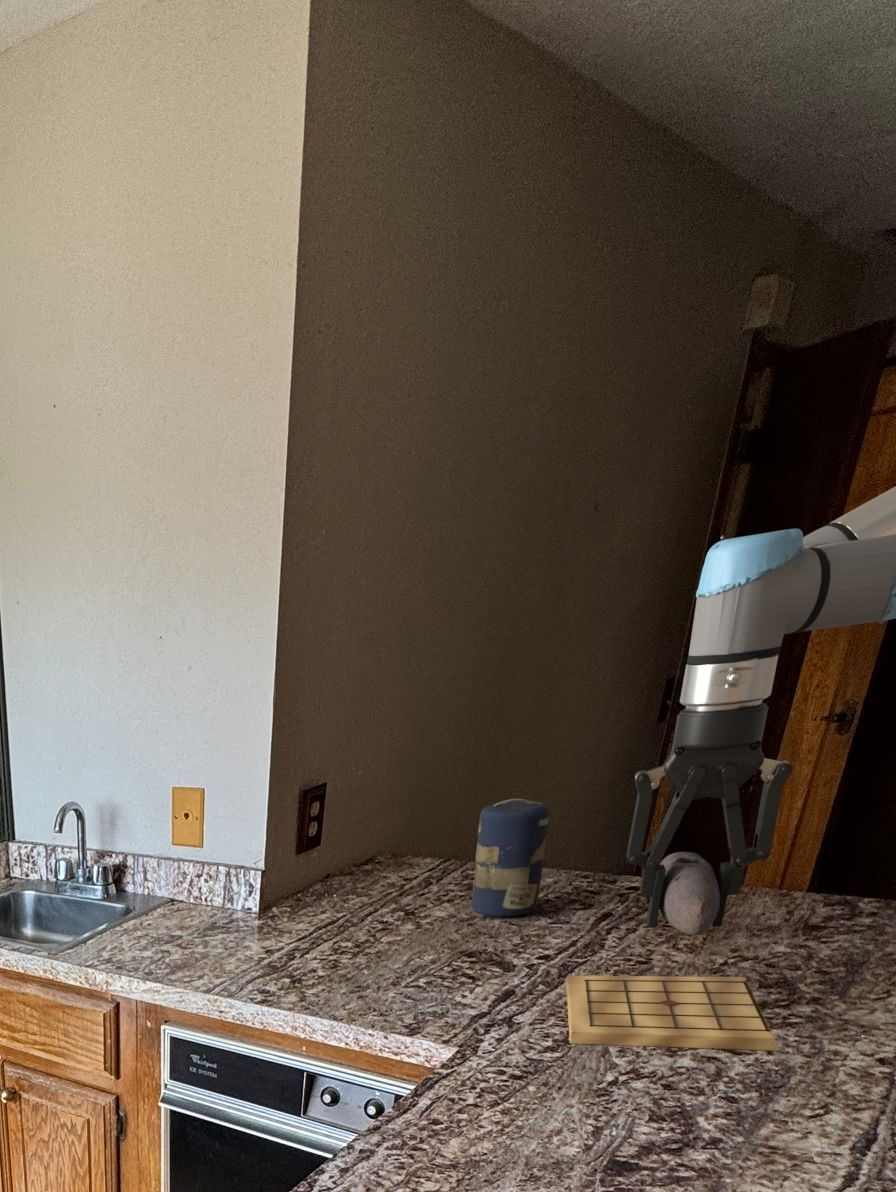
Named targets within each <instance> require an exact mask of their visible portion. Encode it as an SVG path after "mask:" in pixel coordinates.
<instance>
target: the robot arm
mask: <svg viewBox="0 0 896 1192" xmlns="http://www.w3.org/2000/svg"><path fill="white" fill-rule="evenodd" d="M697 587H698V588H697V590H696V592H695V593H696V594H695V597H696V601H695V608H694V617H693V621H692V622H693V623H692V630H691V637H690V645H689V650H688V655H687V659H686V664H685V669H684V675H683V682H682V686H681V693H680V698H679V703H680V704H681V705H682V706H685V707H684V708H683V709H681V710H680V712H678V713H677V717H676V722H675V727H674V728H675V729H674V734H673V741H672V745H671V746H672V747H671V750H670V753H669V755H668V757H667V758H666V759H665V761H664V762H663V765H660V766H656V767H653V768H650V769H648V770H644V769H641V770H638V771H636V772H635V774H634V782H635V785H636V790H637V795H636V801H635V807H634V811H633V817H632V822H631V827H630V831H629V839H628V844H627V849H626V854H625V855H626V860H627V862H628V864H630V865H636V866H639V867H641V868H642V876H641V881H640V887H639V891H640V895H641V897H642V898H649V901H648V902H649V903H648V908H647V914H646V919H645V921H646V926H647V928H657V925H658V918H659V914H660V913H659V907H660V902H661V896H662V890H663V884H664V879H665V873H666V869H665V867H664V865H659V864H660V863H661V862H662V860H663V858H664V856H665V854H666V852H667V850H668V847H669V845H670V844H671V841H673V837H674V836H675V833H676V832H677V829H678V827H679V825H680V823H681V821H682V819H683V818H684V816H685V813H686V812H687V810H688V808H690V806H691V803H692V801H693V800H701V799H704V798H714V799H720V800H721V803H722V809H723V816H724V823H725V824H724V825H725V830H726V838H727V845H728V851H729V858H730V860H729V861H725V862H720V865H719V869H718V875H717V876H718V877H717V882H718V887H719V892H720V903H719V910H718V913H717V916H716V918H715V920H714V922H713V923H712V925H711V927H712V928H718V927H719V928H721V927H722V925H723V920H724V916H725V910H726V905H727V900H728V896H738V895H739V893H740V892H741V890H742V885H743V879H744V876H745V871H746V868H747V866H748V865H749V864H751V863H754V862H756V861H765V860H767V859H768V858H769V857H770V855H771V852H772V845H773V840H774V835H775V829H776V824H777V818H778V814H779V813H778V812H779V808H780V801H781V797H782V791H783V787H784V785H785V784H786V782H787V781H788V779H789V778H790V776H791V774H792V772H793V770H794V765H792V763H790V762H789V761H788V760H785V759H781V760H776V759H770V758H766V757H765V755H764V753H763V751H762V741H763V736H764V731H765V725H766V722H767V721H766V720H767V718H768V717H767V715H768V712H769V711H768V710H769V706H768V705H767V703H765V702H763V700H765V699H767V698H769V697H770V696H771V695H772V691H773V685H774V681H775V680H774V679H775V676H776V671H777V670H776V669H777V664H778V661H779V660H778V659H779V654H780V653H781V648H782V643H783V639H784V636H785V635H791V634H799V633H801V632H808V631H818V630H825V629H834V628H841V627H847V626H856V625H862V624H870V623H871V624H872V623H877V624H883V623H884V622H886V621H889V620H895V619H896V485H895V486H894V487H892V488H889V489H888V490H887V491H885V492H883V493H881V494H879V495H878V496H875V497H874V498H872V499H870V500H868V501H866V502H865V503H863V504H861V505H860V506H858V507H856V508H854V509H853V510H850V511H848V512H847V513H845V514H843V515H841V516H840V517H838V518H836V519H835V520H832V521H830V522H829V523H828V524H825V525H824V526H822V527H820V528H818V529H816V530H814V531H812V532H810V533H809V534H806V535H805V536H804V533H803V531H802V530H801V529H800V528H790V529H789V528H788V529H782V530H776V531H769V532H763V533H757V534H750V535H744V536H737V537H731V538H726V539H721V540H719V541H718V542H716V543H714V544H713V545H711V547H710V548H709V550H708V552H707V554H706V556H705V560H704V563H703V566H702V569H701V573H700V578H699V583H698V586H697ZM758 770H760V771H761V774H760V778H761V780H762V781H763V782H764V783H763V787H762V792H761V796H760V803H759V809H758V812H757V813H758V814H757V820H756V825H755V831H754V836H753V844H752V847H749V848H747V846H746V844H747V843H746V837H745V830H744V822H743V817H742V816H743V815H742V807H741V797H740V789H739V788H741V787H742V786H743V785H744V784H745V782H747V781H748V780H749V779H750V778H751V777H752V776H753V775H754V774H755V773H756V772H757V771H758ZM665 776H666V777H667V778H668V780H669V781H670V782H671V783H672V785H673V786H674V788H675V789H676V791H675V793H674V796H673V797H672V800H671V802H670V805H669V807H668V809H667V812H666V814H665V816H664V818H663V819H662V822H661V823H660V826H659V828H658V829H657V832H656V834H655V836H654V838H653V841H652V842H651V844H650V847H649V849H648V850H647V852H643V849H644V843H645V838H646V833H647V829H648V823H649V818H650V812H651V809H652V802H653V790H656V789H658V788H659V787H660V784H661V781H662V780H661V779H663V778H664V777H665Z"/></svg>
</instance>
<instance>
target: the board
mask: <svg viewBox="0 0 896 1192" xmlns="http://www.w3.org/2000/svg"><path fill="white" fill-rule="evenodd" d="M566 977H567V978H566V985H565V989H566V1003H567V1004H566V1005H567V1007H566V1008H567V1021H568V1022H567V1023H568V1036H569V1044H576V1045H601V1046H602V1045H603V1046H604V1045H605V1046H606V1045H607V1046H628V1047H629V1046H631V1047H632V1046H634V1047H636V1046H637V1047H657V1048H658V1047H659V1048H687V1049H688V1048H689V1049H692V1048H693V1049H712V1048H713V1050H714V1049H715V1050H716V1049H718V1050H742V1051H743V1050H744V1051H767V1052H768V1051H770V1052H782V1051H781V1048H780V1046H779V1044H778V1042H777V1040H776V1038H775V1036H774V1034H773V1031H772V1030H771V1028H770V1025H769V1024H768V1022H767V1019H766V1017H765V1016H764V1015H765V1014H764V1013H763V1011H762V1009H761V1007H760V1004H759V1003H758V1001H757V999H756V997H755V995H754V993H753V991H752V989H751V987H750V985H749V983H748V980H747V979H746V977H745V976H675V975H674V976H672V975H671V976H667V975H665V976H663V975H662V976H661V975H660V976H659V975H658V976H657V975H656V976H655V975H648V976H647V975H567V976H566Z"/></svg>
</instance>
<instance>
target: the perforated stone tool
mask: <svg viewBox="0 0 896 1192" xmlns="http://www.w3.org/2000/svg"><path fill="white" fill-rule="evenodd" d="M659 865H664V867H665V869H666V873H665V879H664V884H663V890H662V896H661V902H660V907H659V913H658V914H659V915H660V916H661V917H662V918H663V919H664V920H665V921H666V922H667V923H668V924H669V925H671V926H672V927H673V928H674V929H676V930H678V931H679V932H681V933H683V934H685V935H689V936H697V935H699V936H700V935H702V934H703V933H705V932H706V931H708V930H709V929H710V928H711V927H712V923H713V922H714V920H715V918H716V916H717V913H718V910H719V903H720V892H719V887H718V882H717V880H718V878H717V876H716V873H715V871H714V869H713V867H712V865H711V864H710V863H709V862H708V860H705V858H704V857H702V856H701V855H699V854H698V853H697V852H696V853H695V852H690V851H677V852H673V853H670V854H668V855H666V856H665V857H664V859H663V858H662V860H661V862H660V864H659Z"/></svg>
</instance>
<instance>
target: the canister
mask: <svg viewBox="0 0 896 1192" xmlns="http://www.w3.org/2000/svg"><path fill="white" fill-rule="evenodd" d="M549 817H550V807H549V806H548V804H546V803H544V802H541V801H536V800H529V799H524V798H518V797H517V798H511V799H506V800H502V801H500V802H497V803H492V804H490V805H487V806H485V807H484V808H483V809H482V810H481V812H480V815H479V823H478V830H477V832H478V833H477V841H476V842H477V843H476V852H475V868H474V877H473V888H472V898H471V899H472V900H471V907H472V909H473V911H474V912H475V913H477V914H479V915H482V916H487V917H495V918H508V917H517V916H518V917H519V916H523V915H526V914H529V913H531V912H533V911H534V910H535V909H536V908H537V907H538V905H539V896H540V895H539V894H540V888H541V882H542V874H543V869H544V862H545V861H544V860H545V859H544V857H545V848H546V840H547V833H548V825H549Z"/></svg>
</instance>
